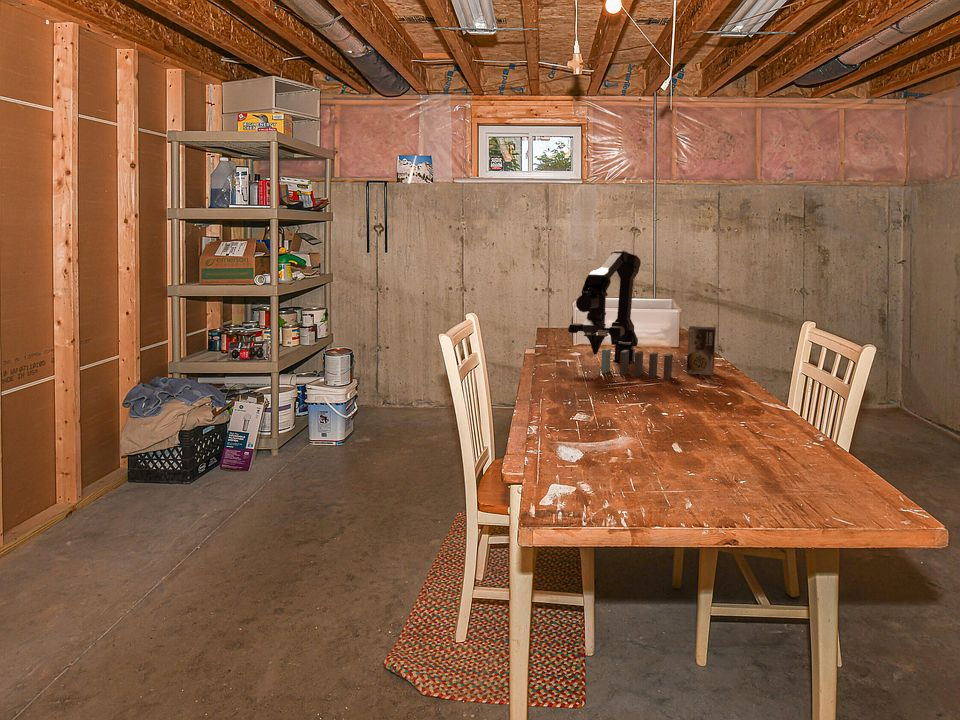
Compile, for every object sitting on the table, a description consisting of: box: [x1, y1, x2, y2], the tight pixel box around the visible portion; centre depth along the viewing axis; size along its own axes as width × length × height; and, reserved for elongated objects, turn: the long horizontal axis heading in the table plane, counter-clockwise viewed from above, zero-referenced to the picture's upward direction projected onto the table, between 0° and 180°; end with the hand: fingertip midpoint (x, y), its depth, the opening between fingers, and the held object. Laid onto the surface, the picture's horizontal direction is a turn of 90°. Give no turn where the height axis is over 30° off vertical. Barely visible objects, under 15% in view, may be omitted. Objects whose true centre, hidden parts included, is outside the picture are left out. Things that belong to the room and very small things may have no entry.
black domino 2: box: [619, 350, 630, 376], centre depth 267 cm, size 2×5×8 cm, turn 154°
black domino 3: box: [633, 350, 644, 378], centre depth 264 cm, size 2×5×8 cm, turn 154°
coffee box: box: [685, 326, 717, 376], centre depth 268 cm, size 9×6×16 cm
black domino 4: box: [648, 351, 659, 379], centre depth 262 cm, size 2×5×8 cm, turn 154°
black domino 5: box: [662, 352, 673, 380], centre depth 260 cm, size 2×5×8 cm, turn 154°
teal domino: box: [600, 347, 612, 374], centre depth 269 cm, size 2×5×8 cm, turn 153°
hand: (595, 354), depth 271 cm, fingers closed
